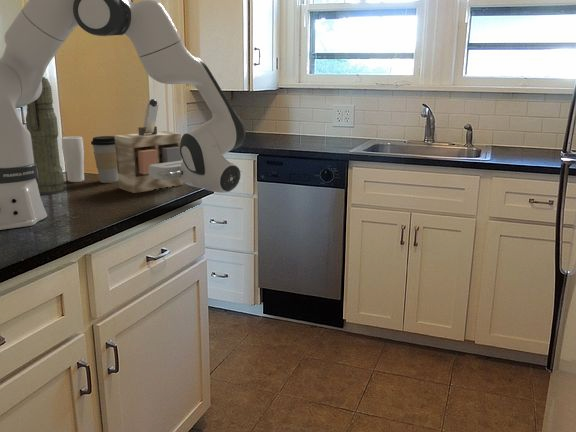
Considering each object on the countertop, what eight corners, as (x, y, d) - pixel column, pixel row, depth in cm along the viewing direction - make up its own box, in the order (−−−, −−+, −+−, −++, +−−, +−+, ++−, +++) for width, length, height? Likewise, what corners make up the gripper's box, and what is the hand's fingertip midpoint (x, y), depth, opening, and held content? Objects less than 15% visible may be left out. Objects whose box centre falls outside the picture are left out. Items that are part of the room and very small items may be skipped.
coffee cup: (115, 184, 188) (111, 139, 184) (89, 183, 190) (84, 138, 186) (127, 179, 197) (124, 136, 193) (102, 178, 199) (99, 135, 195)
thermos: (28, 195, 172) (14, 77, 163) (40, 187, 184) (27, 76, 174) (58, 195, 173) (46, 77, 164) (68, 187, 184) (57, 76, 175)
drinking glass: (79, 183, 190) (75, 138, 186) (61, 182, 191) (56, 138, 188) (90, 179, 196) (86, 136, 193) (72, 178, 198) (68, 135, 194)
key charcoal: (168, 171, 179) (166, 149, 177) (156, 168, 184) (155, 146, 182) (181, 169, 182) (180, 147, 180) (169, 166, 187) (168, 145, 185)
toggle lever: (145, 134, 179) (151, 101, 173) (142, 130, 180) (147, 97, 174) (154, 133, 181) (160, 101, 174) (150, 129, 182) (156, 97, 176)
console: (134, 193, 175) (129, 130, 170) (118, 188, 182) (113, 127, 177) (183, 184, 187) (180, 126, 182) (167, 180, 194) (163, 123, 189)
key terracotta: (144, 174, 173) (142, 151, 171) (132, 171, 178) (131, 149, 176) (158, 172, 177) (157, 150, 175) (147, 169, 182) (145, 147, 180)
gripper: (164, 187, 150) (138, 180, 160) (225, 177, 164) (198, 171, 174) (162, 163, 149) (136, 158, 159) (225, 155, 162) (197, 150, 172)
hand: (169, 164), depth 166 cm, fingers closed
